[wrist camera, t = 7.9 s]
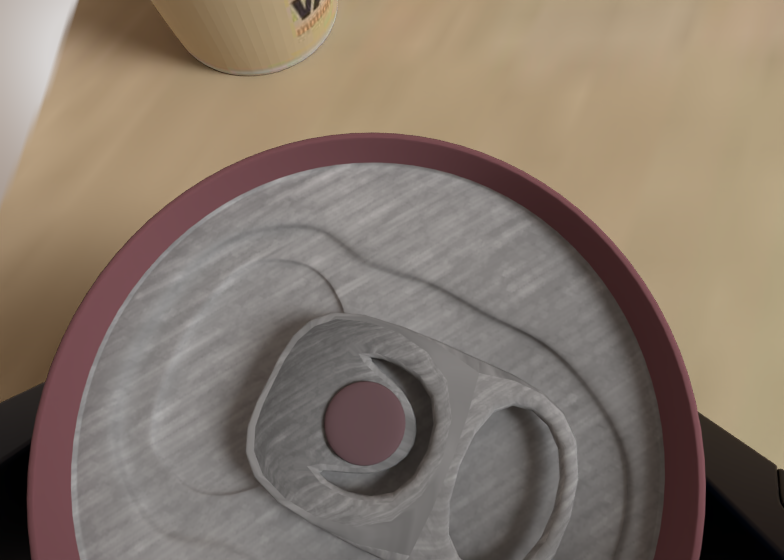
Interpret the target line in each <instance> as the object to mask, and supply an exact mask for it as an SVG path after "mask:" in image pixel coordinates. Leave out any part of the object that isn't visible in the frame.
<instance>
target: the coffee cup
mask: <svg viewBox="0 0 784 560" xmlns="http://www.w3.org/2000/svg"><path fill="white" fill-rule="evenodd" d="M151 1H152V3H153V4H154V6H155V7H156V9H157V10H158V12H159V13H160V14H161V16H162V17H163V19H164V20H165V22H166V23H167V24H168V26H169V27H170V28H171V30H172V31H173V32H174V34H175V35H176V36H177V38H178V39H179V41H180V42H181V43H182V45H183V46H184V47H185V48H186V49H187V51H188V52H189V53H190V54H192V55H193V56H194V57H195V58H196V59H197V60H199V61H200V62H202V63H203V64H205V65H206V66H208V67H211V68H213V69H215V70H218V71H220V72H224V73H228V74H234V75H244V76H255V75H265V74H269V73H274V72H279V71H281V70H284V69H287V68H289V67H292V66H294V65H295V64H297V63H299V62H301V61H303V60H304V59H306V58H307V57H308V56H309V55H311V54H312V53H313V52H315V51H316V49H318V48H319V47H320V45H321V44H322V43H323V42H324V41H325V39H326V38H327V36H328V35H329V33H330V31H331V29H332V27H333V25H334V22H335V19H336V14H337V8H338V0H151Z"/></svg>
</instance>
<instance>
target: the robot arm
mask: <svg viewBox="0 0 784 560" xmlns="http://www.w3.org/2000/svg"><path fill="white" fill-rule="evenodd" d="M44 385H45V382H44V383H41V384H39V385H37V386H35V387H33V388H31V389H29V390H27V391H24V392H22V393H20V394H18V395H16V396H14V397H12V398H10V399H7V400H5V401H3V402H1V403H0V560H31V553H30V544H29V535H28V522H27V478H28V465H29V456H30V447H31V440H32V434H33V429H34V424H35V418H36V414H37V410H38V406H39V402H40V398H41V395H42V391H43V387H44ZM698 416H699V421H700V426H701V432H702V440H703V449H704V457H705V479H706V497H705V519H704V529H703V538H702V546H701V552H700V557H699V560H784V470H783V469H778V470H777V466H776V465H775V464H774V463H772V462H771V461H769V460H768V459H767V458H765V457H764V456H762V455H761V454H759V453H758V452H756V451H755V450H753V449H752V448H750V447H749V446H747V445H746V444H745V443H743V442H742V441H740V440H739V439H737V438H736V437H734V436H733V435H731V434H730V433H728V432H727V431H725V430H724V429H723V428H721V427H720V426H718V425H717V424H715V423H714V422H712V421H711V420H709V419H708V418H706V417H705V416H703V415H702V414H701V413H699V412H698Z"/></svg>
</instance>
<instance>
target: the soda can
mask: <svg viewBox="0 0 784 560" xmlns="http://www.w3.org/2000/svg"><path fill="white" fill-rule="evenodd" d="M705 497H706V479H705V457H704V449H703V440H702V432H701V426H700V421H699V416H698V411H697V405H696V401H695V397H694V393H693V390H692V386H691V382H690V379H689V375H688V372H687V370H686V367H685V364H684V361H683V358H682V355H681V353H680V350H679V347H678V345H677V343H676V341H675V338H674V336H673V334H672V331H671V329H670V327H669V325H668V323H667V321H666V319H665V317H664V315H663V313H662V311H661V310H660V308H659V306H658V304H657V302H656V300H655V299H654V297H653V296H652V294H651V292H650V291H649V289H648V288H647V286H646V284H645V283H644V281H643V280H642V278H641V277H640V276H639V274H638V273H637V271H636V270H635V269H634V267H633V266H632V264H631V263H630V262H629V260H628V259H627V258H626V257H625V256H624V254H623V253H622V252H621V251H620V250H619V248H618V247H617V246H616V245H615V244H614V243H613V241H612V240H611V239H610V238H609V237H608V236H607V235H606V234H605V233H604V232H603V231H602V230H601V229H600V228H599V227H598V226H597V225H596V224H595V223H594V222H593V221H592V220H591V219H589V218H588V217H587V216H586V215H585V214H584V213H583V212H582V211H581V210H580V209H578V208H577V207H576V206H574V205H573V204H572V203H571V202H569V201H568V200H567V199H566V198H564V197H563V196H562V195H560V194H559V193H557V192H556V191H554V190H553V189H551V188H550V187H549V186H547V185H546V184H544V183H543V182H541V181H539V180H538V179H536V178H534V177H532V176H531V175H529V174H527V173H525V172H524V171H522V170H520V169H518V168H516V167H514V166H512V165H510V164H508V163H506V162H504V161H502V160H499V159H497V158H494V157H492V156H489V155H487V154H484V153H482V152H479V151H476V150H473V149H470V148H467V147H464V146H461V145H457V144H453V143H449V142H445V141H441V140H437V139H431V138H426V137H420V136H413V135H404V134H394V133H349V134H339V135H329V136H323V137H317V138H311V139H306V140H302V141H297V142H293V143H289V144H285V145H282V146H279V147H276V148H272V149H269V150H266V151H263V152H261V153H258V154H255V155H253V156H250V157H248V158H245V159H243V160H241V161H239V162H236V163H234V164H232V165H230V166H228V167H226V168H224V169H222V170H220V171H218V172H216V173H214V174H213V175H211V176H209V177H207V178H205V179H204V180H202V181H201V182H199V183H197V184H196V185H194V186H193V187H191V188H190V189H188V190H186V191H185V192H184V193H182V194H181V195H180V196H178V197H177V198H175V199H174V200H173V201H171V202H170V203H169V204H167V205H166V206H165V207H164V208H163V209H161V210H160V211H159V212H158V213H157V214H155V215H154V216H153V217H152V218H151V219H150V220H148V221H147V222H146V223H145V224H144V225H143V226H142V227H141V228H140V229H139V230H138V231H137V232H136V233H135V234H134V235H133V236H132V237H131V238H130V239H129V240H128V241H127V242H126V244H125V245H124V246H123V247H122V248H121V249H120V250H119V251H118V252H117V253H116V255H115V256H114V257H113V258H112V260H111V261H110V262H109V263H108V265H107V266H106V267H105V269H104V270H103V271H102V272H101V274H100V275H99V276H98V278H97V279H96V281H95V282H94V284H93V285H92V287H91V288H90V290H89V291H88V293H87V294H86V296H85V297H84V299H83V301H82V302H81V304H80V306H79V307H78V309H77V311H76V313H75V314H74V316H73V318H72V320H71V322H70V324H69V326H68V328H67V330H66V332H65V334H64V336H63V338H62V340H61V342H60V345H59V347H58V349H57V352H56V354H55V357H54V359H53V361H52V364H51V367H50V370H49V373H48V376H47V379H46V382H45V385H44V387H43V391H42V395H41V398H40V402H39V406H38V410H37V414H36V418H35V424H34V429H33V434H32V440H31V447H30V456H29V465H28V478H27V522H28V535H29V544H30V553H31V560H699V557H700V552H701V546H702V538H703V529H704V519H705Z"/></svg>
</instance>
